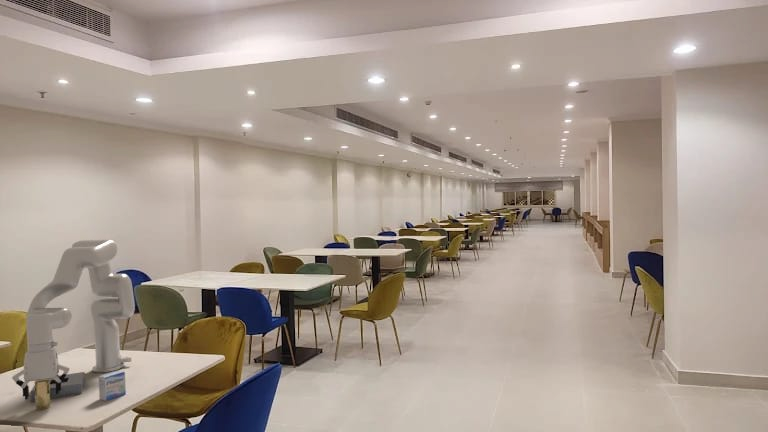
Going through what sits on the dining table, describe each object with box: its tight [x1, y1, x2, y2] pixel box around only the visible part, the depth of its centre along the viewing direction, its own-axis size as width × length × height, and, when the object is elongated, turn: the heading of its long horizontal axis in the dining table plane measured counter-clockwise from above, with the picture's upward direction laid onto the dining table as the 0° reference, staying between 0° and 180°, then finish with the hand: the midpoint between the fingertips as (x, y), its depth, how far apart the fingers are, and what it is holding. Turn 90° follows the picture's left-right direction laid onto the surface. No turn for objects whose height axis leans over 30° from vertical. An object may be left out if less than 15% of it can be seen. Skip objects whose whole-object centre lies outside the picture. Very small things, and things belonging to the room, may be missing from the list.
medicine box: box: [98, 370, 127, 402], centre depth 192 cm, size 8×4×9 cm, turn 148°
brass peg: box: [34, 379, 51, 412], centre depth 182 cm, size 4×4×10 cm
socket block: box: [30, 371, 86, 403], centre depth 200 cm, size 16×16×4 cm
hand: (42, 395), depth 182 cm, fingers open, 8 cm apart
